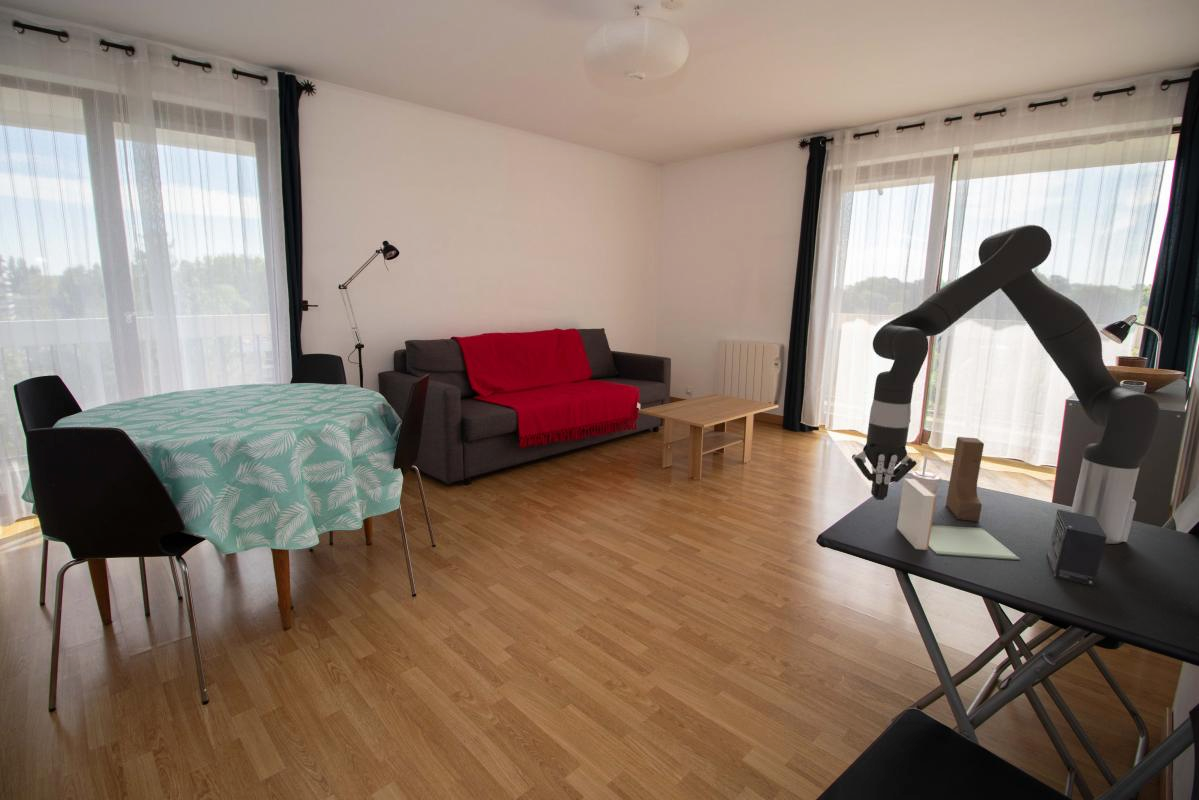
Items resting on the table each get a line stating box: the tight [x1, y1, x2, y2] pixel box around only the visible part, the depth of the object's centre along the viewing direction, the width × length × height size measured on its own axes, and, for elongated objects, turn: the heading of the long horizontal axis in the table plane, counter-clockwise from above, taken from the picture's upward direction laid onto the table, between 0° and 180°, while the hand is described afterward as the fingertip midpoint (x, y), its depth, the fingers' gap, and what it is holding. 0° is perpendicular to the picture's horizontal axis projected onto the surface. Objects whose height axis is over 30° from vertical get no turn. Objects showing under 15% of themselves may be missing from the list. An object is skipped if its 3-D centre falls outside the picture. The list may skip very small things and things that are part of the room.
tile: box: [896, 477, 937, 551], centre depth 121 cm, size 2×10×12 cm, turn 173°
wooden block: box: [945, 436, 985, 522], centre depth 133 cm, size 9×4×18 cm, turn 165°
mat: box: [928, 524, 1021, 561], centre depth 121 cm, size 16×14×1 cm
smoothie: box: [909, 456, 942, 495], centre depth 134 cm, size 6×6×14 cm
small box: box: [1046, 509, 1107, 587], centre depth 108 cm, size 11×6×10 cm, turn 148°
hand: (878, 498), depth 121 cm, fingers closed
